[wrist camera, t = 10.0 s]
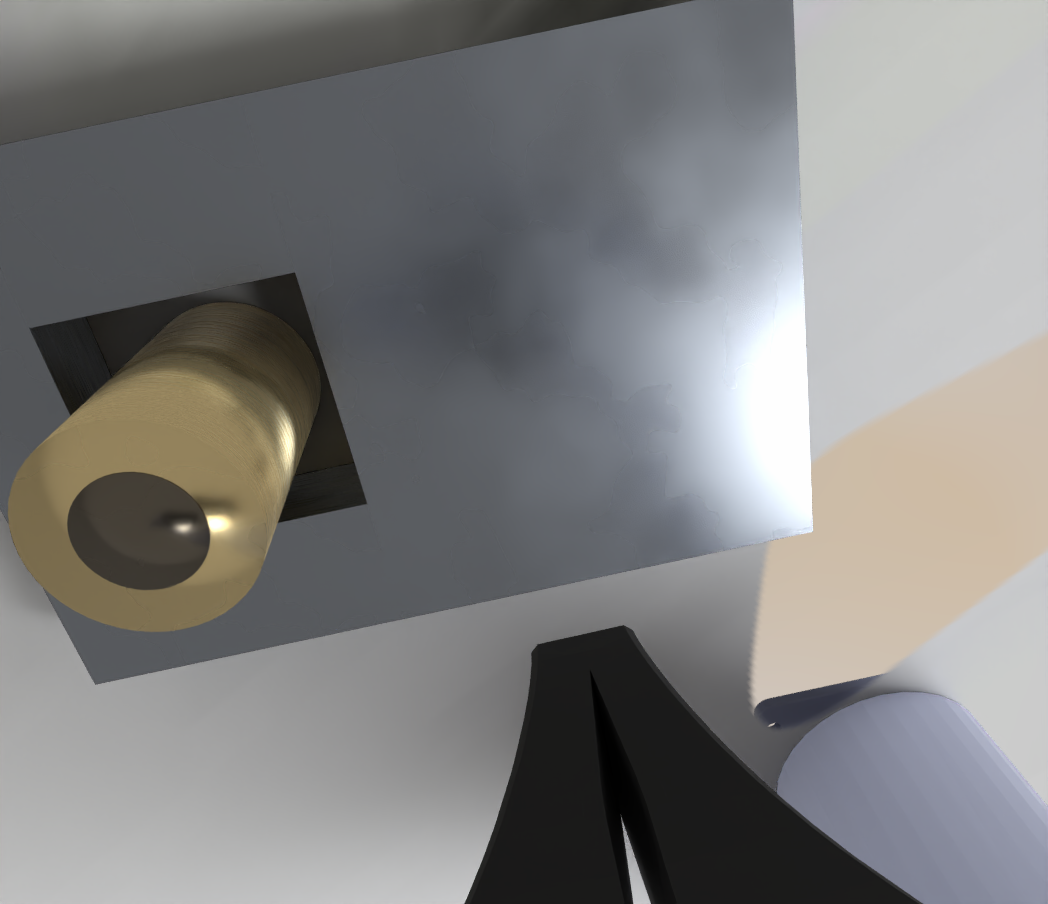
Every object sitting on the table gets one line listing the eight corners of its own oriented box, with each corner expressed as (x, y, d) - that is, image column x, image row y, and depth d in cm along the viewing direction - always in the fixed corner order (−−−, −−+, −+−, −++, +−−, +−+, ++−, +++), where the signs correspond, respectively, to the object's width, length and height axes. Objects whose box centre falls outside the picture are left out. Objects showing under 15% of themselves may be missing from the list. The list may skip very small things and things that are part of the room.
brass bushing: (339, 442, 21) (295, 608, 14) (182, 472, 21) (67, 653, 14) (293, 287, 19) (221, 397, 12) (122, 319, 19) (-40, 448, 12)
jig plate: (776, 486, 22) (813, 531, 20) (128, 624, 22) (95, 684, 20) (747, -9, 17) (792, -21, 15) (-99, 167, 17) (-177, 181, 15)
